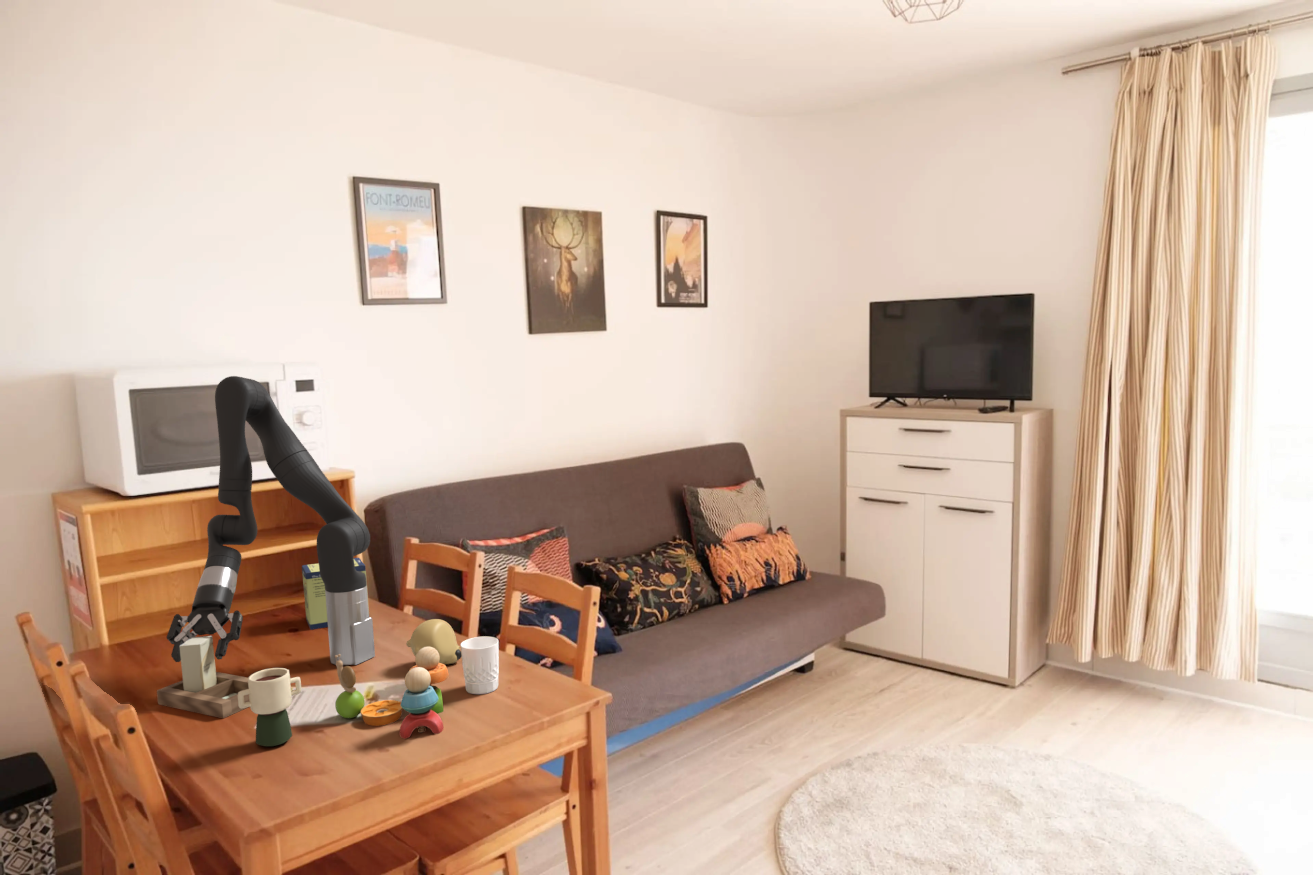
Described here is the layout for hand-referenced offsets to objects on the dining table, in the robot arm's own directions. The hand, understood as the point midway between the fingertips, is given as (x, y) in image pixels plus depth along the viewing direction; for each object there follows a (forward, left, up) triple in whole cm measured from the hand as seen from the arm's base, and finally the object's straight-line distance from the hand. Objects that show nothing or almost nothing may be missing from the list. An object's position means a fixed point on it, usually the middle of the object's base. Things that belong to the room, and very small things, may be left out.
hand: (197, 659), depth 180 cm
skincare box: (+1, -1, -9) cm, 9 cm away
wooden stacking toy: (-51, -7, -9) cm, 52 cm away
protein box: (+14, -52, -9) cm, 54 cm away
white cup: (-54, -26, -9) cm, 60 cm away
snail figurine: (-38, -4, -9) cm, 39 cm away
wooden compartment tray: (-4, -1, -9) cm, 10 cm away
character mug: (-33, +9, -9) cm, 35 cm away
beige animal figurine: (-35, -34, -9) cm, 49 cm away
